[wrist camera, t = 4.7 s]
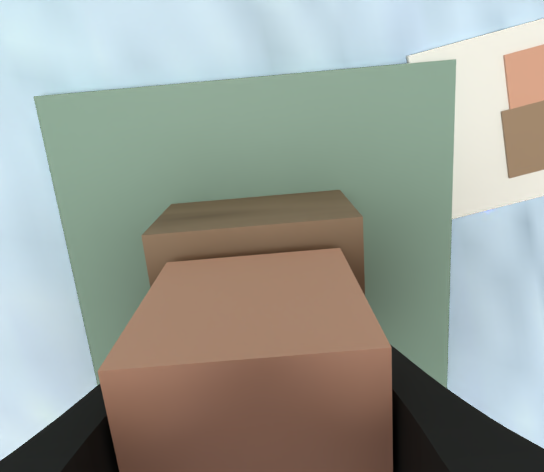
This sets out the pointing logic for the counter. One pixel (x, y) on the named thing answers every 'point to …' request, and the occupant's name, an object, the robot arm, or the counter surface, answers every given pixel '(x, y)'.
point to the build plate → (264, 180)
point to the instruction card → (496, 117)
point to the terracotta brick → (252, 370)
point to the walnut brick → (256, 229)
